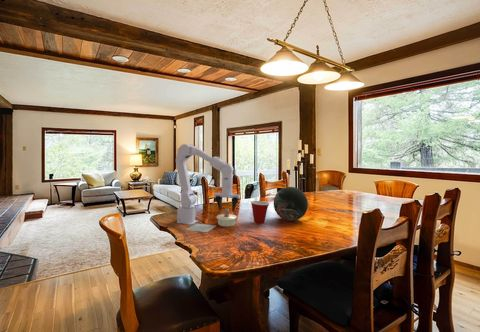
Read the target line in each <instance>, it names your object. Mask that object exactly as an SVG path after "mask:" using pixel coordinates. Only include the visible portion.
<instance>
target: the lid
mask: <svg viewBox="0 0 480 332" xmlns="http://www.w3.org/2000/svg"><path fill="white" fill-rule="evenodd" d="M237 217H238V216H237V215H235V214H231V213H230V208H224V211H223V214H217V215H216V219H217V220H218V219H219V220H235V221H236V220H237Z"/></svg>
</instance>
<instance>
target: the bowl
mask: <svg viewBox="0 0 480 332" xmlns="http://www.w3.org/2000/svg"><path fill="white" fill-rule="evenodd" d="M217 220H218V223H217V224H218V225H219V226H221V227H233V226H235V225H236V219H235V220H219V219H217Z"/></svg>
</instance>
